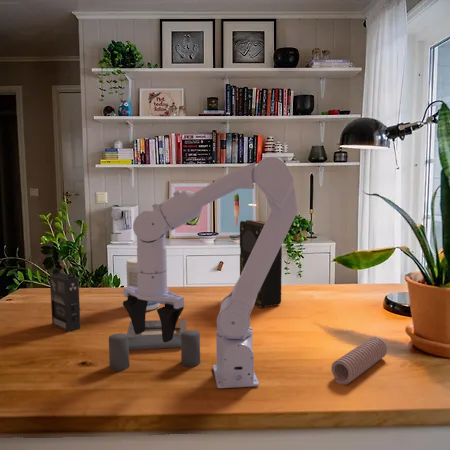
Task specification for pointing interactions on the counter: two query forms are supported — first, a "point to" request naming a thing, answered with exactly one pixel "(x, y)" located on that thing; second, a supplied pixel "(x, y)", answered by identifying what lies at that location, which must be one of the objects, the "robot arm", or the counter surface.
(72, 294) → the geiger counter
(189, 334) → the post right
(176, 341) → the panel
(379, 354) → the coil
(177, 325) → the block
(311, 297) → the counter surface
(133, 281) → the supplement tub
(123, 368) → the post left
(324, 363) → the counter surface
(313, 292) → the counter surface
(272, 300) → the black upright block
